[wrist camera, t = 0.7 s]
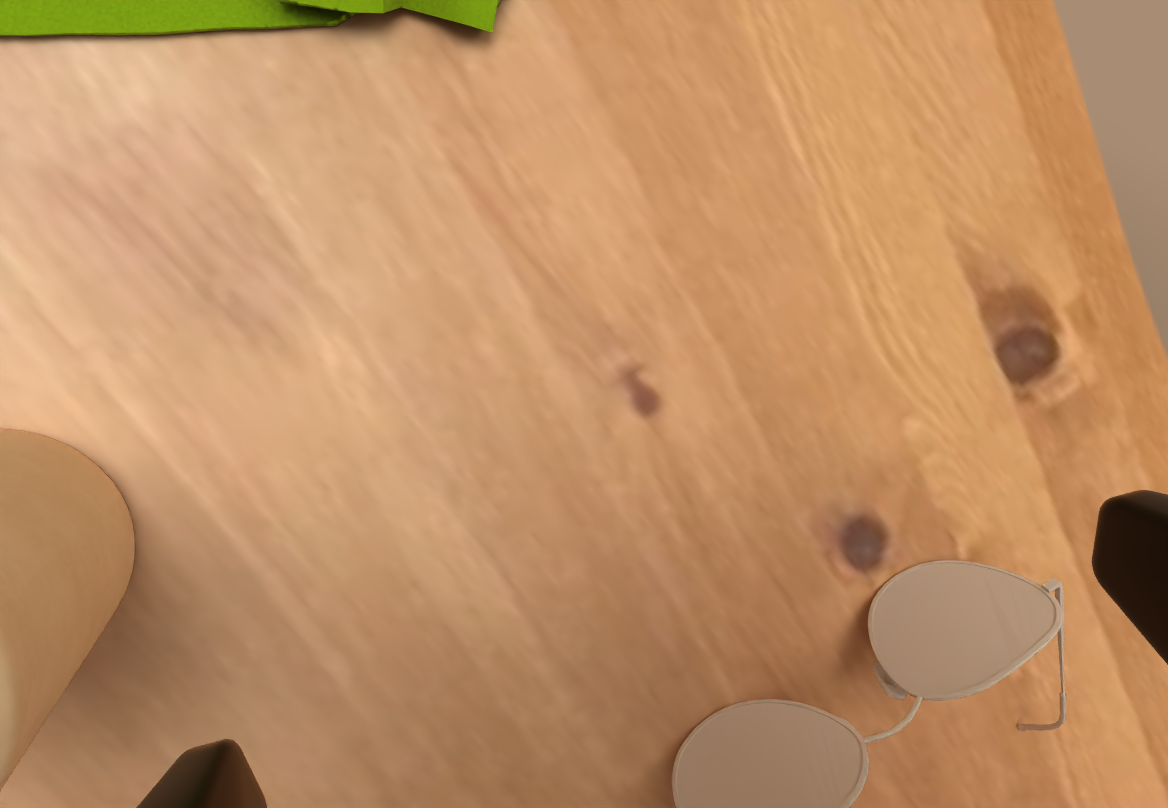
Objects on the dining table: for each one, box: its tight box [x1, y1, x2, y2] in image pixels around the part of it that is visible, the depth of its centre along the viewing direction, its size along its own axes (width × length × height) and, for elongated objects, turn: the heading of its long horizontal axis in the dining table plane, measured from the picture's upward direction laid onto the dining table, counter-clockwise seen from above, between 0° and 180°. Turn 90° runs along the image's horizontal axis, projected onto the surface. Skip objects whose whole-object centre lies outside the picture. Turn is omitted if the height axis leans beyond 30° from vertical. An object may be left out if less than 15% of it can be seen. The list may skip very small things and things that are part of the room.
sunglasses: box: [672, 560, 1066, 808], centre depth 24 cm, size 14×8×5 cm, turn 117°
